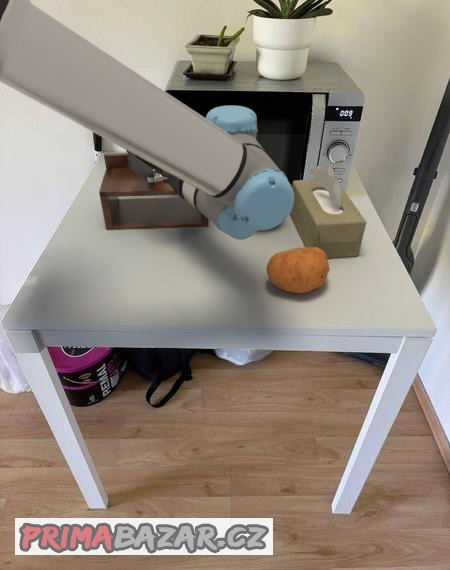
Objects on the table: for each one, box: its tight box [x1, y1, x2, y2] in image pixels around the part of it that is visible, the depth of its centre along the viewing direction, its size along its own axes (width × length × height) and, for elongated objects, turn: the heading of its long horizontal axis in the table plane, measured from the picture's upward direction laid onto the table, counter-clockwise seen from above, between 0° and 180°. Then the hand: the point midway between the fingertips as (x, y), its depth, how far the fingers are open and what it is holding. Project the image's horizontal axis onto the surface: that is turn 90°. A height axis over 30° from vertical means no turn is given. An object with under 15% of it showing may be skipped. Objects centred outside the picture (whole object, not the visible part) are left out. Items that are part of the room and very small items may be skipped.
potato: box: [265, 246, 330, 294], centre depth 79 cm, size 9×11×8 cm
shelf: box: [98, 152, 209, 231], centre depth 96 cm, size 22×12×12 cm, turn 94°
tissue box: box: [289, 162, 367, 259], centre depth 90 cm, size 19×10×16 cm, turn 7°
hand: (141, 142), depth 94 cm, fingers open, 6 cm apart
